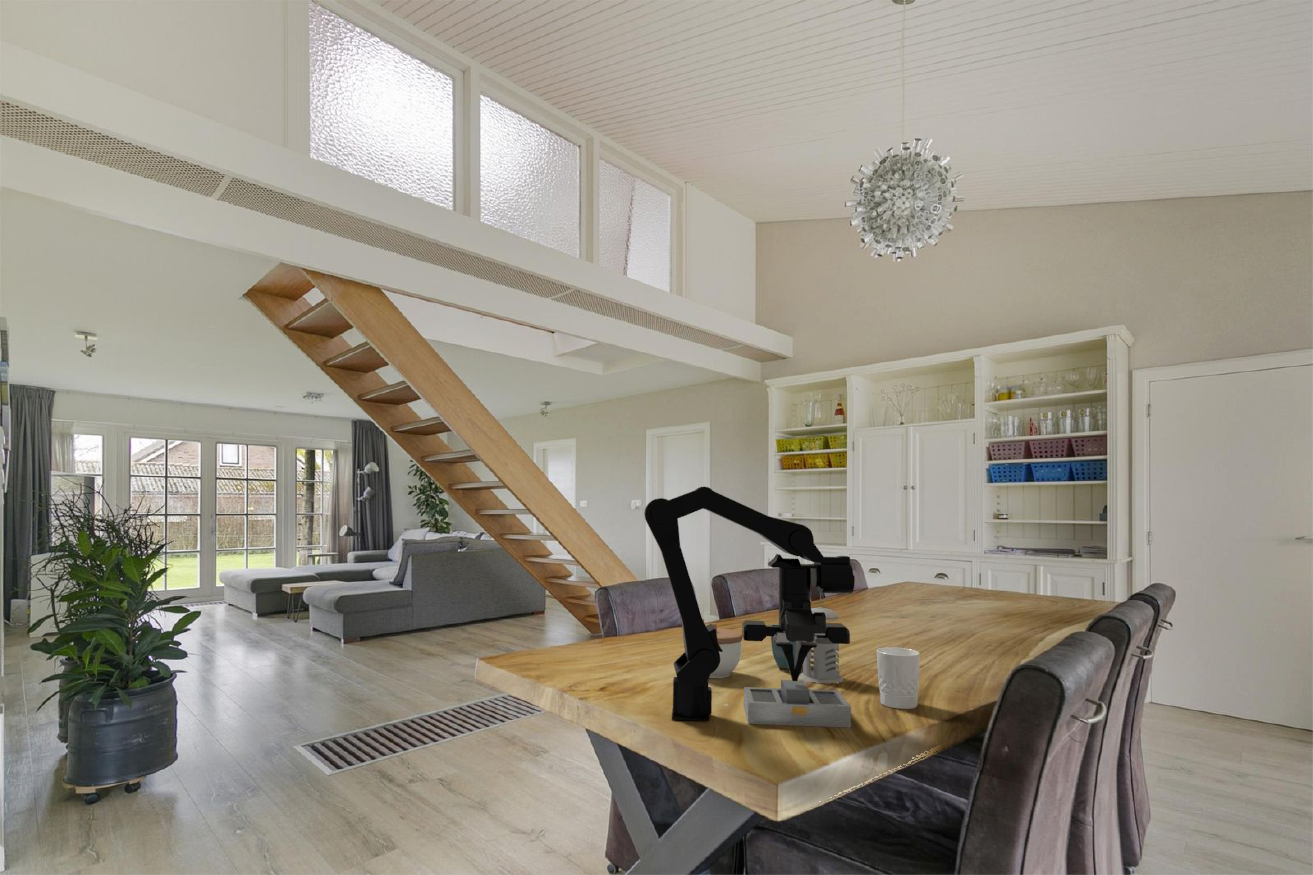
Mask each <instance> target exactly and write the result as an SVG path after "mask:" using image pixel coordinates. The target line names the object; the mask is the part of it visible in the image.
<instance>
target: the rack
mask: <svg viewBox="0 0 1313 875" xmlns="http://www.w3.org/2000/svg"><path fill="white" fill-rule="evenodd" d="M808 689H809V699H810V703H783V702H782V700H781V687H779V688H778V687H754V686H753V687H750V686H749V687H747V686H744V687H743V707H744V708H743V709H744V712H745V716H746V720H747V723H748V725H766V726H767V725H768V726H772V725H774V726H797V727H798V726H800V727H822V728H823V727H824V728H825V727H826V728H852V706H851V705H850V703H849V702H848V701H847V700H846V698H845V697H844V696H843V695H842V693H841V692H840V691H839V690H837V689H812V688H808Z"/></svg>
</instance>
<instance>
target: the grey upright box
mask: <svg viewBox="0 0 1313 875" xmlns="http://www.w3.org/2000/svg"><path fill="white" fill-rule="evenodd" d="M780 688H781V700H782V702H783V703H810V699H809V689H810V688H808V686H807V685H806V683H805V681H803V680H801V679H800V680H799V679H798V680H797V681H792V679H780Z"/></svg>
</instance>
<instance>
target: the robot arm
mask: <svg viewBox="0 0 1313 875" xmlns="http://www.w3.org/2000/svg"><path fill="white" fill-rule="evenodd" d="M700 510H706V511H708V512H710V513H713V514H714V515H717V516H719V517H720V518H723V519H725V520H727V521H730V522H731V523H734V524H736V525H739V526H741V527H743V528H745V529H748V530H749V531H752V532H754V533H756V534H758V536H760V537H762V538H763V539H765V540H766V541H767V542H769V543H770V544H772V545H773V546H775V547H776V548H778V549H779V550H780V551H782V552H783V553H785V554H789V555H791V556H795V557H800V558H801V559H803V560H806V561H809V562H812V563H813V564H812V563H810V564H809V563H801V561H800V559H799V558H791V557H790V558H789V557H788V558H787V557H785V558H784V557H782V555H781V554H780V553H776V554H775V556H774V557H773V558H772V559H771V560H770V561H768V562H767V566H768V567H770V568H772V569H773V568H774V569H775V568H777V569H778V625H779V626H770V625H766V623H765V621H764V620H744V621H743V622H742V624H741V633H742V640H743V641H747V642H763V641H764V640H765V639H766V637H771V636H773V637H774V638H773V642H774V643H775V645H776V646H778V647H781V649H782V651H783V653H784V656H785V659H786V662H787V665H788V668H787V669H788V671H789V674H790V677H791V680H792V681H797V680H799V675H800V674H801V673H802V672H801V671H802V670H803V663H804V660H805V658H806V656H807V654H808V652H809V651H810V650H811V649H814V648H816V647H817V644H816V643H815V640H816V638H828V639H829V640H830V641H831V642H832V643H833V644H839V645H849V644H851V633H850V629H848V627H846V626H845V625H843V623H842V622H839V623H838V622H827V620H826V615H825V613H824V612H814V613H812V610H811V609H812V604H811V603H812V601H811V600H812V596H811V595H812V592H811V589H812V588H816V589H817V591H818V593H819V594H820V593H821V594H843V595H844V594H846V595H847V594H848V595H850V594H852V593H853V592H854V589H855V578H856V577H855V575H854V571H853V566H852V564H851V558H850V556H847V555H838V556H824V555H823V554H822V552H821V551H820V550H819V548H818V547H817V546H816V544H815V542H814V540H815V539H814V538H815V537H814V535H813V532H812V530H811V529H810V528H809V527H807V525H804V524H800V523H797V522H792V521H788V520H785V519H780V518H777V517H772V516H769V515H767V514H765V513H762V512H760V511H758V510H756V509H753V508H752V507H749V506H747V505H745V504H742V503H740V502H738V501H736V500H734V499H732V498H729V497H727V496H725V495H723V494H721V493H718V492H716V491H714V490H713V489H712V488H710V487H708V486H700V487H698V488H695V489H694V490H692V491H690V492H687V493H684V494H682V495H678V496H676V497H673V498H671V499H667V498H664V497H661V498H654V499H652V500H650V501H649V502H648V503H647V504H646V506H645V508H644V520H645V521H646V524H647V525H648V528H649V529H650V531H651V534H652V536H653V538H654V539H655V541H656V543H657V546H658V547H659V550H660V551H661V555H662V558H663V562H664V565H665V569H666V573H667V576H668V579H669V582H670V586H671V589H672V592H673V597H674V599H675V602H676V606H677V609H678V614H679V616H680V620H681V626H682V637H683V646H684V652H683V653H682V654H681V655H680V656H679V657H678V658H676V660H675V661H674V662H673V668H674V671H675V675H676V676H673V680H672V681H673V682H672V684H673V685H672V708H671V709H672V711H671V719H672V720H681V721H682V720H683V721H704V722H707V721H710V716H711V715H712V710H713V709H712V700H713V696H712V694H713V691H712V687H711V686H709V679H710V678H709V676H710V674H711V673H713V672H714V671H715V670H716V669H717V668H718V666H719V664H720V654H719V652H723V650H722V649H721V647H720V646H719V644H718V640H717V633H716V629H715V628H714V626H713V625H712V624H713V623H709V624H708V625H706V624H705V622H704V620H703V618H702V614H701V611H700V608H699V604H698V600H697V597H696V593H695V591H694V588H693V584H692V580H691V577H690V573H689V570H688V567H687V564H686V561H685V557H684V553H683V551H682V548H681V541H680V540H681V539H680V527H679V519H680V518H683V517H687V516H688V515H690V514H692V513H695V512H698V511H700ZM811 585H812V586H811ZM811 587H812V588H811ZM783 631H784V632H783ZM795 641H796V650H795V663H794V658H793V644H792V643H791V642H795Z"/></svg>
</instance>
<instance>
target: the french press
mask: <svg viewBox="0 0 1313 875" xmlns="http://www.w3.org/2000/svg"><path fill="white" fill-rule="evenodd" d="M811 610H812V613H814V612H824V613H825V615H826V621H827V620H828V621H829V620H837V619H839V618H840V615H839V614H838V613H836V612H835V611H834V610H831V609H829V608H825V607H823V606H822V593H819V606H818V607H813V608H812V607H811ZM815 643H816V644H817V647H816V648H811V650H810V651H809V652H808V654H807V656H806V658H805V660H804V663H803V666H802V672H800V675H799V678H801V679H802V680H805V681H804V682H807V683H811V682H816V683H815V684H817V683H826V684H825V685H831V684H830V683H837V682H842V683H843V682H844V681H845V680H844V678H843V676H841V675H840V671H839V670H840V665H839V664H840V659H839V658H840V654H839V652H840V647H839V646H840V644H833V643H832V642H831V641H830V640H829V639H828V638H816V640H815ZM812 659H813V660H812ZM811 665H813V666H811ZM799 678H798V679H799ZM801 679H800V680H801ZM827 683H829V684H827ZM837 684H838V683H837Z"/></svg>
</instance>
